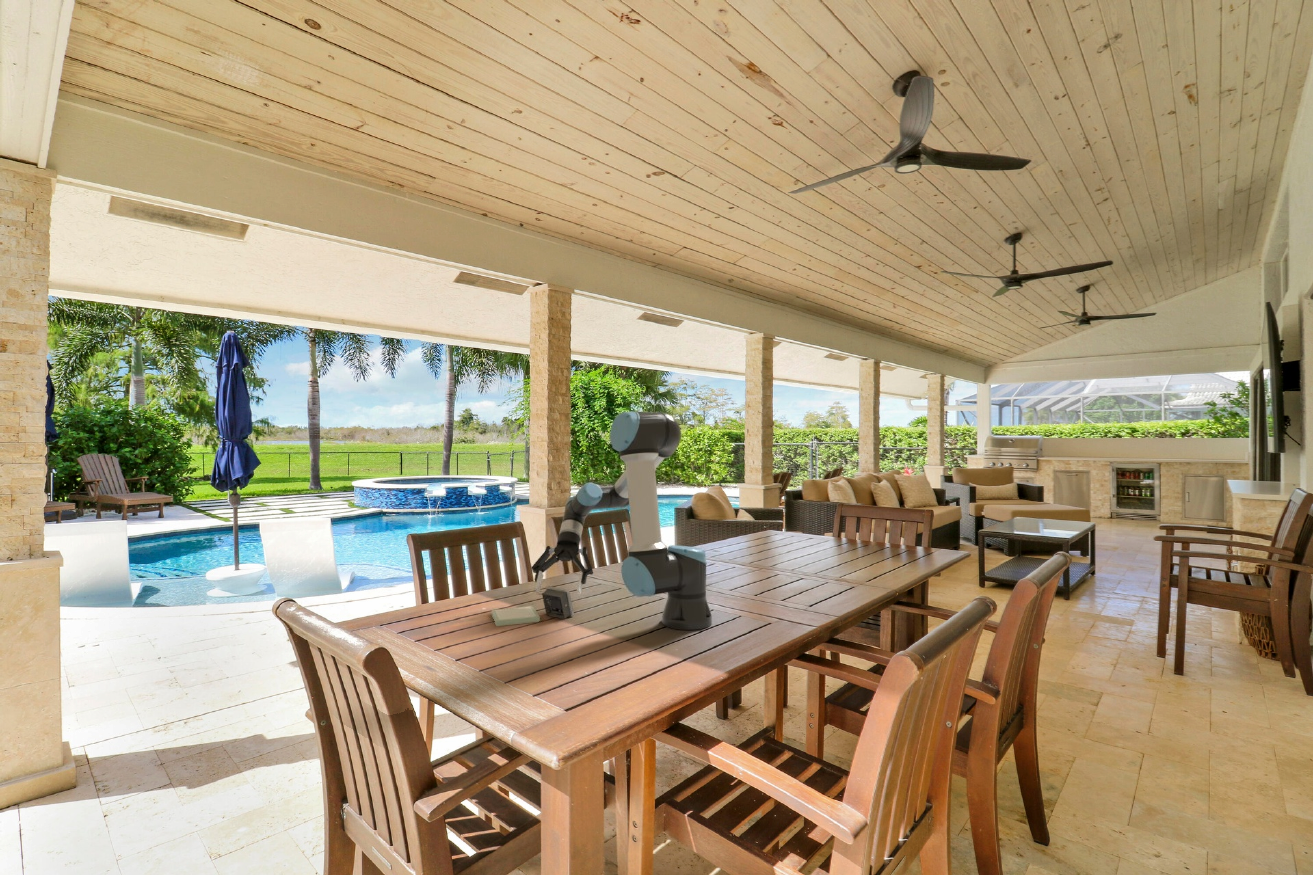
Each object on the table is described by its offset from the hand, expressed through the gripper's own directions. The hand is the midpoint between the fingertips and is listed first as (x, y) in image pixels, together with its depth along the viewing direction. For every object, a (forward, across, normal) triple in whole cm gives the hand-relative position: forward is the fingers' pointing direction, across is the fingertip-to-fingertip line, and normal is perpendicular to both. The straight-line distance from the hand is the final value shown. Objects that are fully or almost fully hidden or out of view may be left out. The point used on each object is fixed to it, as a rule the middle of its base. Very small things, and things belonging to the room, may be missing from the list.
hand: (557, 591), depth 197 cm
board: (+9, +12, -2) cm, 15 cm away
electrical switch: (+6, -1, -4) cm, 8 cm away
